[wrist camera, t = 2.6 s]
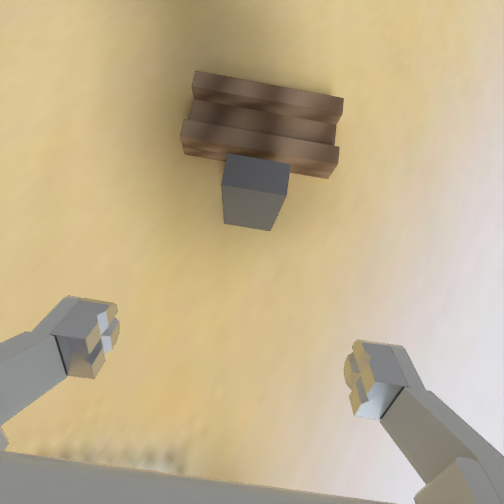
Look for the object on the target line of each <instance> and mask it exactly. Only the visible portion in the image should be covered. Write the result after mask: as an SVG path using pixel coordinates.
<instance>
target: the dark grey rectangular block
mask: <svg viewBox="0 0 504 504" xmlns="http://www.w3.org/2000/svg"><path fill="white" fill-rule="evenodd" d="M290 165H291V164H287V163H281V162H275V161H270V160H264V159H258V158H253V157H247V156H241V155H235V154H230V153H227V158H226V164H225V169H224V174H223V180H222V200H223V214H224V224H230V225H236V226H242V227H248V228H254V229H260V230H266V231H271V228H272V226H273V224H274V222H275V220H276V218H277V215H278V213H279V211H280V209H281V207H282V205H283V202H284V200H285V198H286V195H287V188H288V180H289V172H290Z"/></svg>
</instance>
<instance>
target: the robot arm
mask: <svg viewBox="0 0 504 504" xmlns="http://www.w3.org/2000/svg"><path fill="white" fill-rule="evenodd" d="M117 312H118V309H117V304H115V303H111V302H105V301H100V300H94V299H88V298H81V297H75V296H70V295H69V296H67V297H64V298H63V299H62V300H61V301H60V302H59V303H58V304H57V305H56V306H55V308H54V309H53V310H52V311H51V312H50V313H49V314H48V315H47V316H46V317H45V318H44V319H43V320H42V321H41V322H40V323H39V324H38V325H37V326H36V327H35V328H34V329H33V330H32V331H31V332H24V333H22V334H19V335H17V336H15V337H13V338H10V339H8V340H6V341H4V342H2V343H0V504H395V503H387V502H380V501H373V500H365V499H358V498H350V497H343V496H336V495H328V494H321V493H313V492H306V491H299V490H291V489H284V488H276V487H269V486H262V485H254V484H247V483H239V482H232V481H225V480H217V479H210V478H202V477H195V476H188V475H180V474H173V473H165V472H158V471H151V470H143V469H136V468H128V467H121V466H113V465H106V464H99V463H91V462H84V461H76V460H69V459H61V458H54V457H47V456H39V455H32V454H24V453H17V452H9V451H4V450H5V448H6V447H7V445H8V444H9V442H8V437H7V436H6V434H5V432H4V431H3V429H2V427H1V425H2V424H4V423H5V422H6V421H8V420H9V419H10V418H12V417H13V416H15V415H16V414H17V413H19V412H20V411H21V410H23V409H24V408H26V407H27V406H28V405H30V404H31V403H32V402H34V401H35V400H37V399H38V398H39V397H41V396H42V395H43V394H45V393H46V392H47V391H49V390H50V389H52V388H53V387H54V386H56V385H57V384H58V383H60V382H61V381H63V380H64V379H65V378H67V376H73V377H82V378H91V379H95V377H96V376H97V374H98V372H99V371H100V369H101V367H102V366H103V364H104V362H105V355H104V354H105V353H107V352H109V351H110V350H112V349H113V347H114V345H115V344H116V342H117V339H118V335H119V330H120V324H119V321H118V320H117V319H116V317H115V315H116V314H117ZM352 349H353V353H351V354H350V355H348V356H347V358H346V361H345V365H344V377H345V381H346V384H347V385H348V386H349V388H350V389H351V390H352V392H351V393H350V395H349V398H350V402H351V406H352V410H353V414H354V416H357V417H362V418H368V419H374V420H380V423H381V424H382V426H383V427H384V428H385V430H386V431H387V432H388V434H389V435H390V436H391V438H392V439H393V440H394V442H395V443H396V444H397V446H398V447H399V448H400V450H401V451H402V453H403V454H404V455H405V457H406V458H407V459H408V461H409V462H410V463H411V465H412V466H413V467H414V469H415V470H416V471H417V473H418V474H419V475H420V477H421V478H422V479H423V481H424V482H425V483H426V486H424V487H423V488H422V489H421V490H420V491H419V492H418V493H417V494H416V495H415V497H414V500H415V503H416V504H504V456H503V455H502V454H501V453H500V452H499V451H497V450H496V449H495V448H494V447H493V446H492V445H491V444H490V443H488V442H487V441H486V440H485V439H484V438H483V437H482V436H481V435H479V434H478V433H477V432H476V431H475V430H474V429H473V428H472V427H471V426H469V425H468V424H467V423H466V422H465V421H464V420H463V419H462V418H460V417H459V416H458V415H457V414H456V413H455V412H454V411H453V410H451V409H450V408H449V407H448V406H447V405H446V404H445V403H444V402H443V401H441V400H440V399H439V398H438V397H437V396H436V395H435V394H434V393H432V392H431V391H428V390H426V389H425V387H424V385H423V383H422V381H421V379H420V377H419V375H418V373H417V371H416V369H415V367H414V365H413V363H412V361H411V359H410V357H409V356H408V354H407V352H406V350H405V348H404V347H403V346H400V345H393V344H385V343H379V342H372V341H365V340H356V341H355V342H354V344H353V346H352Z"/></svg>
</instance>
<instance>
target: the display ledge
mask: <svg viewBox="0 0 504 504" xmlns="http://www.w3.org/2000/svg"><path fill="white" fill-rule="evenodd" d="M192 91H193V97H194V101H193V105H192V109H191V114H190V118H189V120H185V119H184V121H183V125H182V129H181V134H180V138H181V142H182V145H183V150H184V153H185V154H187V155H193V156H198V157H204V158H210V159H216V160H222V161H226V158H227V153H230V154H235V155H241V156H247V157H253V158H258V159H264V160H270V161H275V162H281V163H287V164H291V165H290V172H291V173H297V174H302V175H308V176H314V177H320V178H325V179H328V178H329V176H330V175H331V174H332V172H333V170H334V169H335V168H336V166H337V165H338V159H339V147H337V146H334V145H335V134H336V124H337V123H338V121H339V119H340V117H341V115H342V112H343V101H344V98H340V97H335V96H329V95H324V94H318V93H313V92H307V91H302V90H297V89H291V88H286V87H280V86H275V85H269V84H264V83H259V82H253V81H248V80H242V79H237V78H232V77H226V76H221V75H215V74H210V73H204V72H199V71H195V74H194V79H193V83H192Z"/></svg>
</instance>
